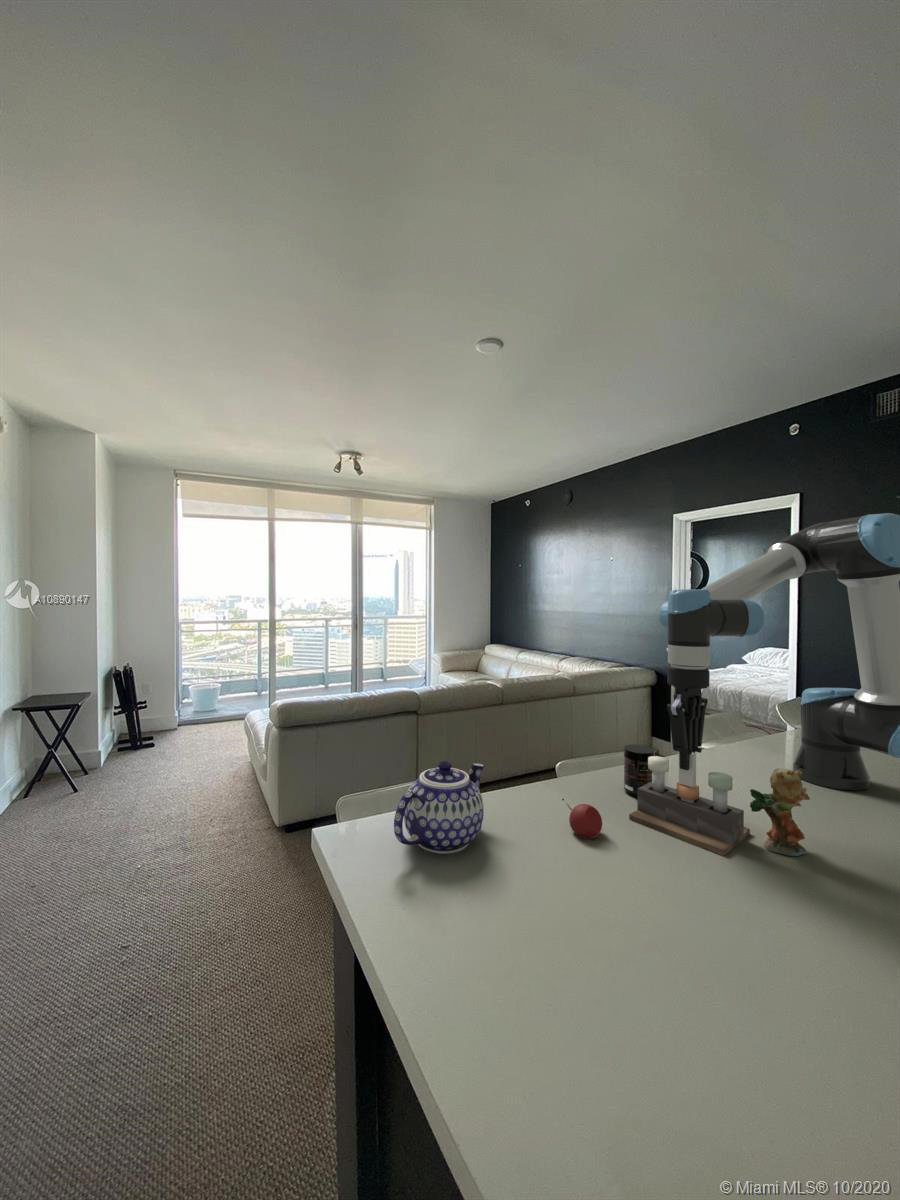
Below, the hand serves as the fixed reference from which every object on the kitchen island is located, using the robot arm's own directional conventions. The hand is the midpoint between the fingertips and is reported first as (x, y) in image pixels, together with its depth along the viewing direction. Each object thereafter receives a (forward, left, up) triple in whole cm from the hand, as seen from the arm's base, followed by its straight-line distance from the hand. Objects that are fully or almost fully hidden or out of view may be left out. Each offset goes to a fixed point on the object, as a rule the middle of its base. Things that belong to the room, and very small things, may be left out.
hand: (687, 784), depth 94 cm
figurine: (-4, +14, -9) cm, 17 cm away
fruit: (+18, -12, -9) cm, 24 cm away
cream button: (0, -6, -3) cm, 7 cm away
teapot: (+41, -26, -9) cm, 50 cm away
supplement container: (-8, -14, -9) cm, 19 cm away
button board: (0, 0, -8) cm, 8 cm away
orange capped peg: (0, 0, -7) cm, 7 cm away
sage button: (0, +6, -3) cm, 7 cm away
